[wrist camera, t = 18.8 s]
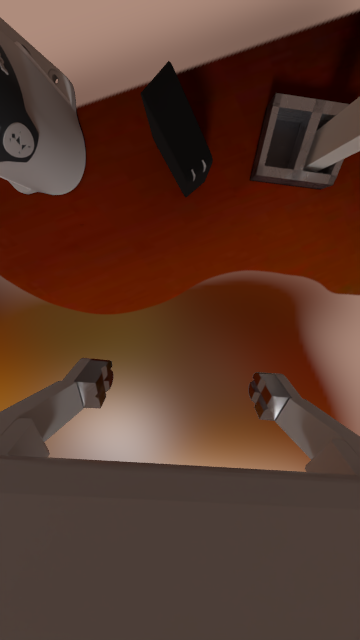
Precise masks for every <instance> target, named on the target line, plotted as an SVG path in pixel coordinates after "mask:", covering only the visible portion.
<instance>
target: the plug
mask: <svg viewBox="0 0 360 640" xmlns="http://www.w3.org/2000/svg"><path fill="white" fill-rule="evenodd" d="M358 151H360V97H359V98H357V99H356V100H355V101H354V102H352V103H351V104H350V105H349V106H347V107H346V108H345V109H344V110H342V111H341V112H340V113H338V114H337V115H336V116H335V117H333V118H332V119H331V120H330V121H328V122H327V123H326V124H325V125H323V126H322V127H321V128H320V129H318V130H317V131H316V133H315V136H314V139H313V142H312V144H311V147H310V150H309V153H308V156H307V159H306V162H305V165H304V168H303V170H307V171H314V172H318V171H320V170H322V169H324V168H326V167H328V166H330V165H332V164H334V163H336V162H338V161H340V160H342V159H344V158H346V157H348V156H350V155H352V154H354V153H356V152H358Z"/></svg>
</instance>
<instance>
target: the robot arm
mask: <svg viewBox="0 0 360 640" xmlns="http://www.w3.org/2000/svg"><path fill="white" fill-rule="evenodd" d="M56 79H58V83H57V84H56V83H55V81H56ZM85 160H86V152H85V144H84V138H83V134H82V131H81V128H80V125H79V122H78V118H77V114H76V99H75V92H74V88H73V85H72V83H71V82H70V81H69V80H68V78H67V77H66V76H65V75H64V74H63V73H62V72H61V71H60V70H59V69H57V68H56V67H55V66H54V65H53V64H52V63H51V62H49V61H48V60H47V59H46V58H45V57H44V56H43V55H42V54H41V53H40V52H38V51H37V50H36V49H35V48H34V47H33V46H32V45H30V44H29V43H28V42H27V41H26V40H25V39H24V38H23V37H22V36H20V35H19V34H18V33H17V32H16V31H15V30H14V29H13V28H11V27H10V26H9V25H8V24H7V23H6V22H5V21H4V20H2V19H1V18H0V177H1V178H4V179H6V180H8V181H9V182H10V183H11V184H12V185H13V187H14V188H15V189H16V190H18V191H19V192H22V193H24V194H31V193H35V192H43V193H47V194H51V195H61V194H65V193H68V192H70V191H71V190H73V189H74V188H75V187H76V186H77V185H78V183H79V182H80V180H81V178H82V175H83V172H84V168H85ZM111 367H112V361H110V360H100V359H89V358H82V359H80V360H79V361H78V362H77V364H76V365H75V366H74V367H73V368H72V370H71V371H70V372H69V373H68V374H67V375H66V377H65V378H64V379H63V380H62V381H58V382H56V383H54V384H52V385H50V386H48V387H46V388H44V389H42V390H41V391H39V392H37V393H35V394H33V395H31V396H29V397H27V398H25V399H24V400H22V401H20V402H18V403H16V404H14V405H13V406H10V407H8V408H7V409H5V410H3V411H1V412H0V640H360V436H358V435H357V434H355V433H354V432H352V431H351V430H349V429H348V428H346V427H345V426H344V425H342V424H341V423H339V422H338V421H336V420H335V419H333V418H332V417H330V416H329V415H327V414H326V413H325V412H323V411H322V410H320V409H319V408H317V407H316V406H314V405H313V404H311V403H310V402H308V401H307V400H306V399H302V398H301V396H300V395H299V394H298V392H297V391H296V390H295V389H294V387H293V386H292V385H291V383H290V382H289V381H288V379H287V378H286V377H285V376H284V375H283V374H275V373H273V374H272V373H259V372H256V373H255V374H254V375H253V379H254V380H253V381H252V382H250V384H249V396H250V398H251V400H252V401H253V402H254V403H255V410H256V412H257V414H258V417H259V419H262V420H273V421H275V422H276V423H277V424H278V425H279V426H280V427H281V428H282V429H283V430H284V431H285V432H286V433H287V434H288V435H289V437H290V438H291V439H292V440H293V441H294V442H295V443H296V444H297V445H298V446H299V447H300V448H301V449H302V450H303V451H304V452H305V453H306V454H307V455H308V457H309V458H310V459H311V461H310V462H309V463H308V464H307V465H306V467H305V469H306V471H307V472H296V471H278V470H260V469H243V468H242V469H241V468H226V467H208V466H189V465H173V464H172V465H171V464H155V463H137V462H119V461H101V460H84V459H83V460H82V459H65V458H48V456H49V450H48V448H47V446H46V445H45V443H44V442H45V441H46V440H47V439H49V438H50V437H51V436H52V435H53V434H54V433H55V432H57V431H58V430H59V429H60V428H61V427H63V426H64V425H65V424H66V423H67V422H68V421H70V420H71V419H72V418H73V417H74V416H75V415H77V414H78V413H79V412H80V411H81V410H82V409H83V408H101V406H102V404H103V402H104V400H105V398H106V393H105V392H107V391H108V390H109V389H110V387H111V385H112V382H113V371H112V370H111Z"/></svg>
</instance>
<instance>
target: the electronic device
mask: <svg viewBox="0 0 360 640" xmlns="http://www.w3.org/2000/svg"><path fill="white" fill-rule="evenodd" d="M141 96H142V100H143V103H144V107H145V111H146V114H147V118H148V121H149V125H150V128H151V132H152V136H153V139H154V141H155V143H156V145H157V147H158V149H159V150H160V152H161V154H162V156H163V158H164V160H165V161H166V163H167V165H168V167H169V169H170V171H171V172H172V174H173V176H174V178H175V180H176V182H177V183H178V185H179V187H180V189H181V191H182V193H183V194H184V196H185V197H187V196H188V195H189V194H191V193H192V192H193V191H194V190H195V189H196V188H198V187H199V186H200V185H201V184H202V183H204V182H205V179H206V177H207V174H208V172H209V170H210V167H211V165H212V155H211V153H210V150H209V148H208V145H207V143H206V141H205V139H204V136H203V134H202V132H201V130H200V127H199V125H198V123H197V121H196V118H195V116H194V114H193V111H192V109H191V107H190V105H189V102H188V100H187V98H186V96H185V93H184V91H183V89H182V87H181V84H180V82H179V80H178V77H177V75H176V73H175V71H174V68H173V66H172V64H171V63H170V62H169V61H168V62H167V64H166V65H165V66H164V67H163V68H162V69H161V71H160V72H159V73H158V74H157V75H156V76H155V77H154V79H153V80H152V81H151V82H150V83H149V84H148V86H147V87H146V88H145V89H144V90H143V91H142V92H141Z"/></svg>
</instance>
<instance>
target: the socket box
mask: <svg viewBox="0 0 360 640" xmlns="http://www.w3.org/2000/svg"><path fill="white" fill-rule="evenodd" d="M349 105H350V104H345V103H339V102H332V101H326V100H319V99H313V98H306V97H300V96H293V95H286V94H280V93H276V94H275V95H274V97H273V98H272V100H271V101H270V103H269V105H268V106H267V108H266V112H265V117H264V121H263V125H262V130H261V134H260V138H259V143H258V147H257V151H256V155H255V160H254V164H253V168H252V173H251V177H250V180H251V181H259V182H266V183H274V184H282V185H289V186H297V187H305V188H313V189H323V188H326V187H329V186H332V185H333V184H334V181H335V179H336V177H337V174H338V172H339V169H340V167H341V165H342V162H343V160H344V159H342V160H340V161H338V162H336V163H334V164H332V165H330V166H328V167H326V168H324V169H322V170H320V171H318V172H314V171H307V170H303V168H304V165H305V162H306V159H307V156H308V153H309V150H310V147H311V144H312V142H313V139H314V136H315V133H316V131H317V130H318V129H320V128H321V127H322V126H323V125H325V124H326V123H327V122H328V121H330V120H331V119H332V118H333V117H335V116H336V115H337V114H338V113H340V112H341V111H342V110H344V109H345V108H346V107H347V106H349Z"/></svg>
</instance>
